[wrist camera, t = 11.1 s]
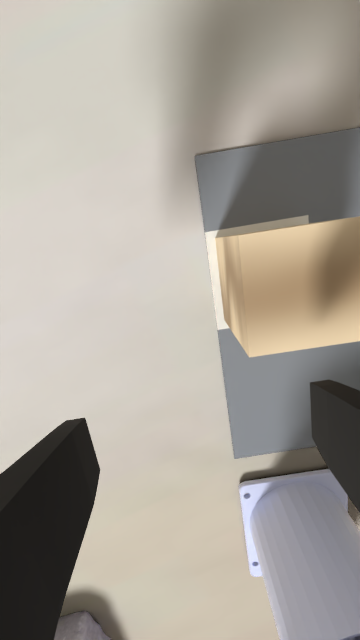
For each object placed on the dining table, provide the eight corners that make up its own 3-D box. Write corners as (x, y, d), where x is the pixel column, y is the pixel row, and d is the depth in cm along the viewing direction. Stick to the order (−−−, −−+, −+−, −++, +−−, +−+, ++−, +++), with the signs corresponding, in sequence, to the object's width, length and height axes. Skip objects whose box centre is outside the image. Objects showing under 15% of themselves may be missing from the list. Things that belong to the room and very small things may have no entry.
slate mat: (467, 422, 20) (469, 423, 20) (234, 457, 21) (234, 459, 20) (509, 102, 15) (512, 100, 15) (194, 156, 15) (195, 155, 15)
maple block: (303, 308, 18) (367, 339, 12) (224, 319, 18) (249, 357, 12) (300, 224, 16) (371, 214, 10) (215, 238, 16) (238, 235, 11)
